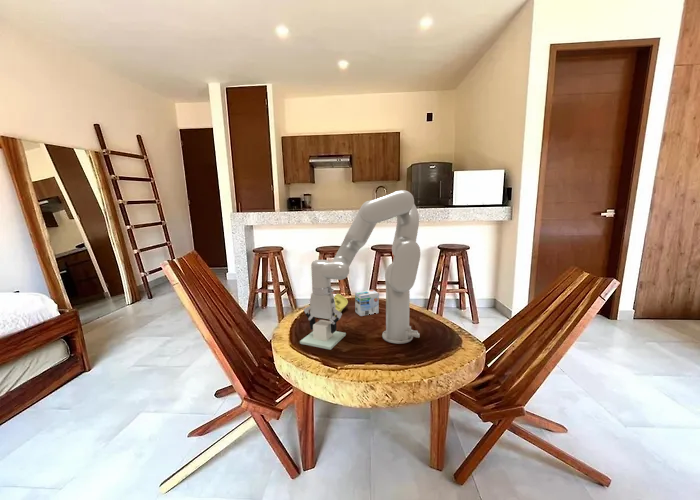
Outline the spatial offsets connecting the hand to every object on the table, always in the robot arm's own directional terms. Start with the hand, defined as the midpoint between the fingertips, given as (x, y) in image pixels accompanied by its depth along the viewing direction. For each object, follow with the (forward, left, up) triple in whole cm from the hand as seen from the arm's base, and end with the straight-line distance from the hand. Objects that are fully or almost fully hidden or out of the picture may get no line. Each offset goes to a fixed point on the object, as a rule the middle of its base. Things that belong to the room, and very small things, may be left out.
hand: (323, 330), depth 126 cm
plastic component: (+11, -28, -4) cm, 31 cm away
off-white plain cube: (0, 0, -3) cm, 3 cm away
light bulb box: (-6, -35, -4) cm, 36 cm away
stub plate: (0, 0, -4) cm, 4 cm away
